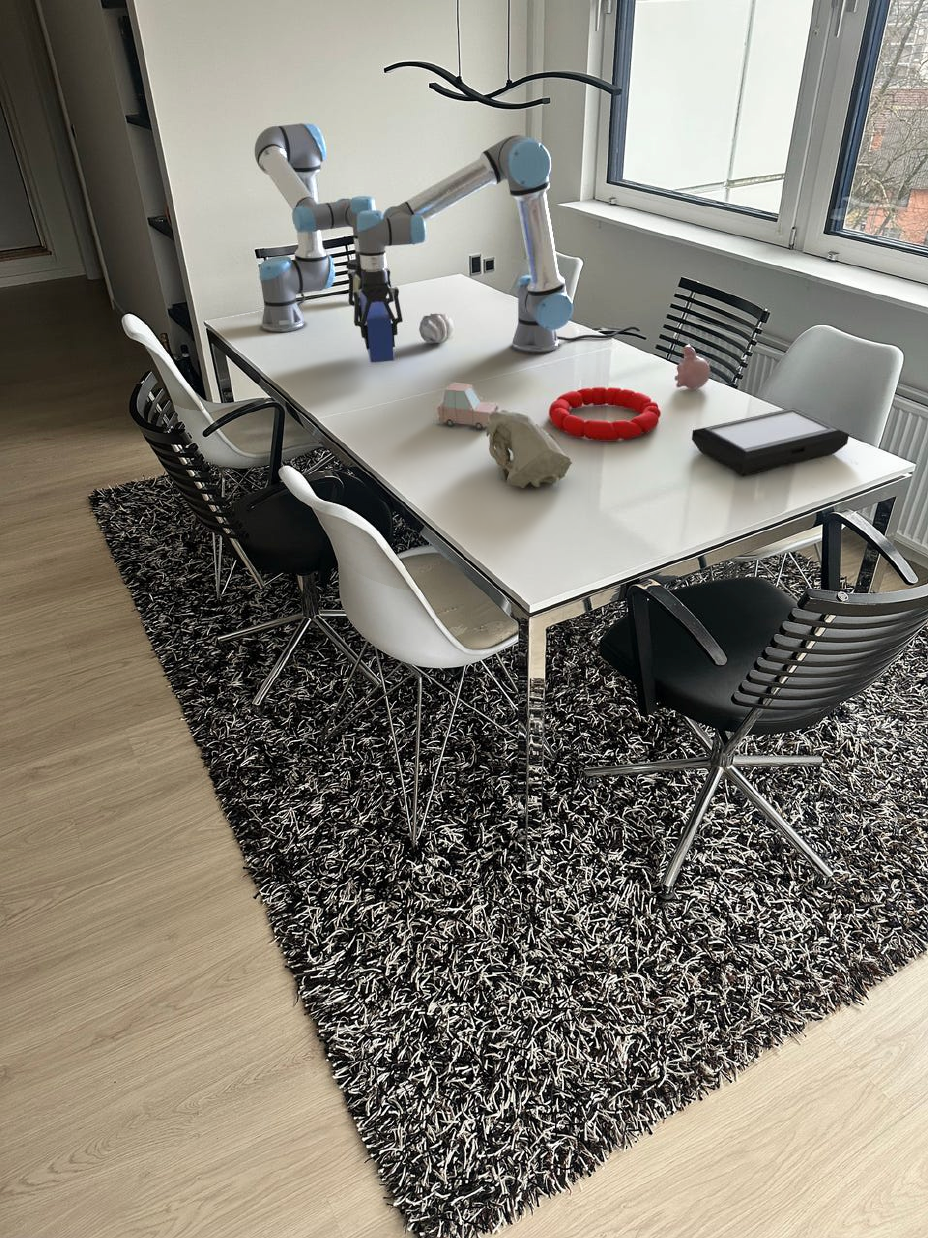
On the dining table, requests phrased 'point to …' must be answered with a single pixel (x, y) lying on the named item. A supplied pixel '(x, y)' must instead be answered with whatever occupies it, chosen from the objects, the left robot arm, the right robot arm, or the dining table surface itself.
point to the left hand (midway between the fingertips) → (373, 324)
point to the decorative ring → (604, 428)
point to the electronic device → (769, 441)
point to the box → (378, 331)
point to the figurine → (692, 370)
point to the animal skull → (525, 450)
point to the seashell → (436, 328)
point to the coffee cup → (351, 267)
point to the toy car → (465, 406)
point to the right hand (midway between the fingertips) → (380, 346)
